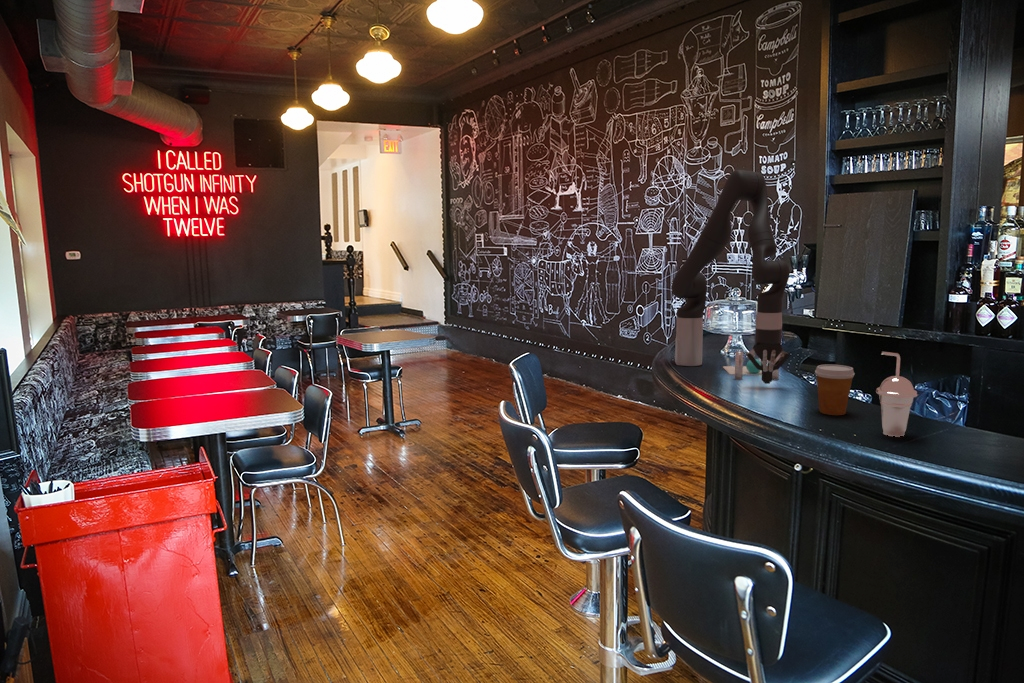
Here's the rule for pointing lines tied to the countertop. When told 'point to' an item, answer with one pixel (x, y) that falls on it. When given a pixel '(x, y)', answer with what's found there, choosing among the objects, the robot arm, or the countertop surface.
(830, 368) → the disposable coffee cup
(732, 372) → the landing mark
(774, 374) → the post
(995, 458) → the countertop surface
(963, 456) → the countertop surface
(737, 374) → the post
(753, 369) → the ball
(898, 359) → the cup with straw
